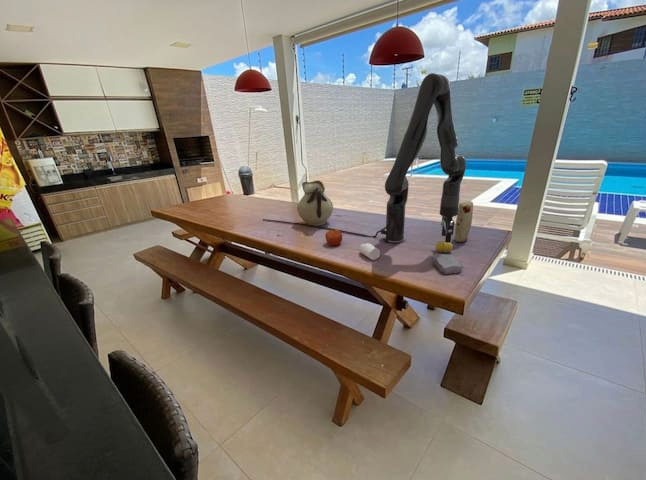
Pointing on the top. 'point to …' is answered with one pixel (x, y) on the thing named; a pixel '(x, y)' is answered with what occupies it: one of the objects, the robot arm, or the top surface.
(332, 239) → the tomato
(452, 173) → the robot arm
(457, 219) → the food model
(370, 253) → the roll
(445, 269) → the stone block
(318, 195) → the cream drawstring sack
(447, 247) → the lemon
